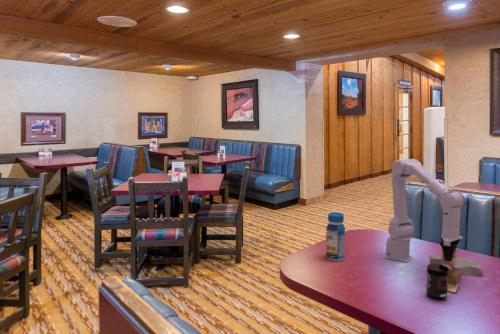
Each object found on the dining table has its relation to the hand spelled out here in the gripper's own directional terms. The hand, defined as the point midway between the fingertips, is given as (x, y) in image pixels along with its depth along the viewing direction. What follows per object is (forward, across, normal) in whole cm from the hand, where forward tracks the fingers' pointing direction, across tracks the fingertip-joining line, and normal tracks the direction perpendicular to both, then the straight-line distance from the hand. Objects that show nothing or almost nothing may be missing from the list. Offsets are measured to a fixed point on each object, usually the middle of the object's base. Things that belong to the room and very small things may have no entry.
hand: (449, 258), depth 145 cm
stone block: (+9, +14, -4) cm, 17 cm away
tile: (+8, -8, -1) cm, 12 cm away
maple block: (+2, 0, 0) cm, 2 cm away
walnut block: (+9, 0, 0) cm, 9 cm away
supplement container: (+8, -17, +1) cm, 19 cm away
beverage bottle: (+8, -2, +45) cm, 46 cm away
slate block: (+8, +9, +6) cm, 14 cm away
